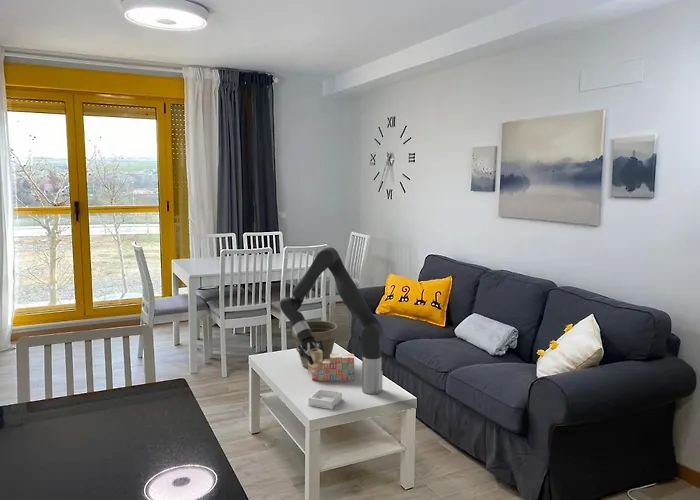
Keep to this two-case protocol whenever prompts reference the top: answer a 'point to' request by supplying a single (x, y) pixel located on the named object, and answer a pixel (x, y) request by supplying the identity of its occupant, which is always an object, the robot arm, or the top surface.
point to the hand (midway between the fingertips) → (317, 362)
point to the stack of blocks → (337, 368)
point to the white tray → (325, 398)
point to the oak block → (316, 361)
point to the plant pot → (320, 337)
